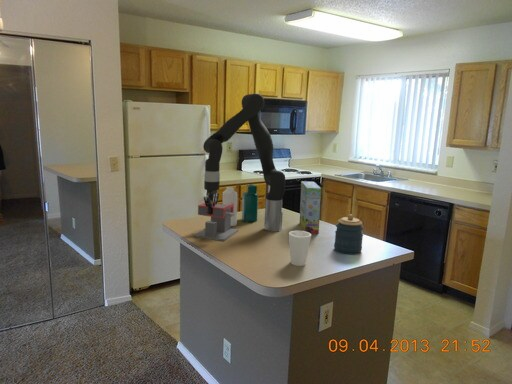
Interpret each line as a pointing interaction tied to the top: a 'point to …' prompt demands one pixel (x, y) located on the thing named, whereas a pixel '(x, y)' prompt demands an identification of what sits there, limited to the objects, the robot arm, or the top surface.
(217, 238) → the stand
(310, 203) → the snack box
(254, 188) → the teal bottle
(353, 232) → the lidded canister
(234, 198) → the milk
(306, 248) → the foam cup
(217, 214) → the red c-shaped frame
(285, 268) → the top surface
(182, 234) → the top surface
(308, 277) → the top surface
